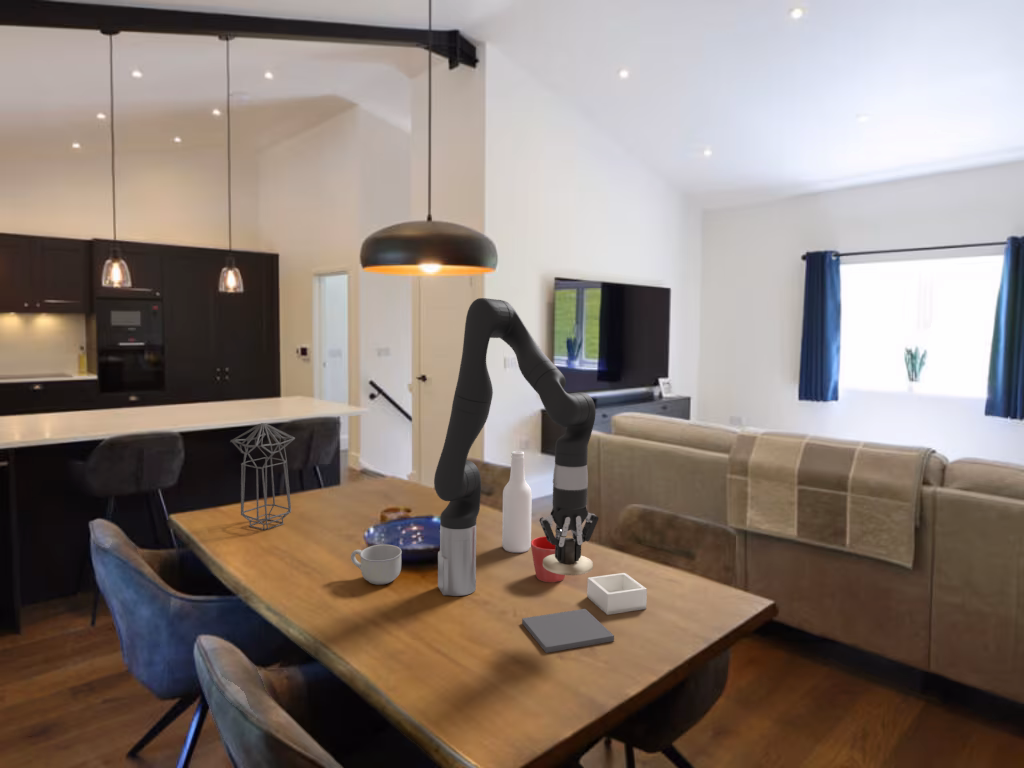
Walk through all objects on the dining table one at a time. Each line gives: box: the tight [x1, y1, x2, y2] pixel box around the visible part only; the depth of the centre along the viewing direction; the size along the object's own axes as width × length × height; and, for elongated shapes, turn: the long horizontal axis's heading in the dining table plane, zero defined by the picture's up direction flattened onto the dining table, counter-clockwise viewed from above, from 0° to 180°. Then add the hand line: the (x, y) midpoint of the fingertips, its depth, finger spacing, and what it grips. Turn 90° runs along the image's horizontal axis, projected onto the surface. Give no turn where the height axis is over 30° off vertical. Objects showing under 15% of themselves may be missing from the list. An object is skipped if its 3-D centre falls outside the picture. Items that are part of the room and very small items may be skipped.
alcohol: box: [501, 450, 533, 554], centre depth 194 cm, size 9×9×30 cm
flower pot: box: [530, 535, 566, 583], centre depth 172 cm, size 11×11×10 cm
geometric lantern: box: [229, 422, 296, 531], centre depth 212 cm, size 16×16×35 cm
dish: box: [586, 572, 648, 616], centre depth 157 cm, size 11×11×5 cm
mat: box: [521, 608, 615, 654], centre depth 141 cm, size 16×14×1 cm
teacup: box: [350, 544, 403, 586], centre depth 169 cm, size 14×11×8 cm
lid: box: [543, 537, 594, 576], centre depth 140 cm, size 11×11×6 cm
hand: (567, 560), depth 140 cm, fingers closed on lid, 3 cm apart
